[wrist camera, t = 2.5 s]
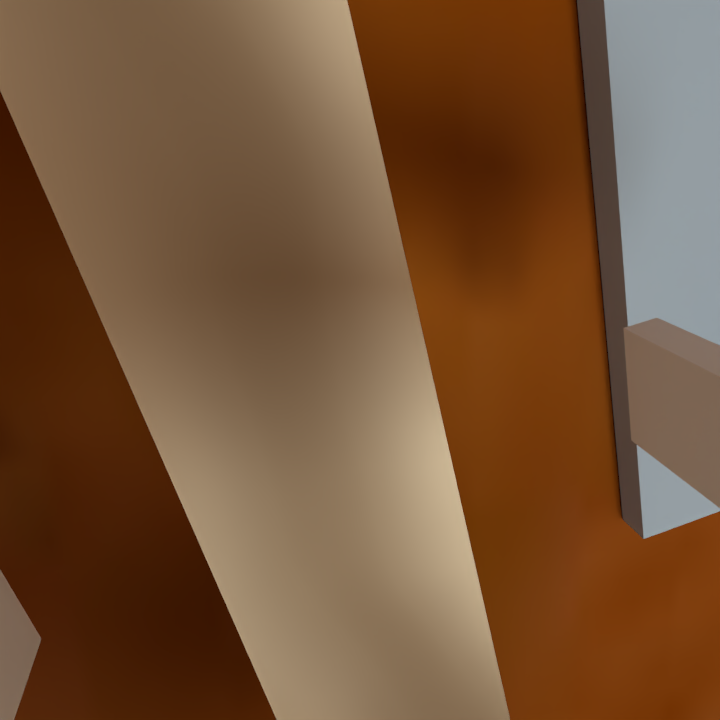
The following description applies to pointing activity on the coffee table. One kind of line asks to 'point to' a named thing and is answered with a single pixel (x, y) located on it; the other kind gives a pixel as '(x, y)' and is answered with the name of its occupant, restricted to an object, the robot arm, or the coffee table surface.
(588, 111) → the blueprint board
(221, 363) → the maple beam
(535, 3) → the coffee table surface
